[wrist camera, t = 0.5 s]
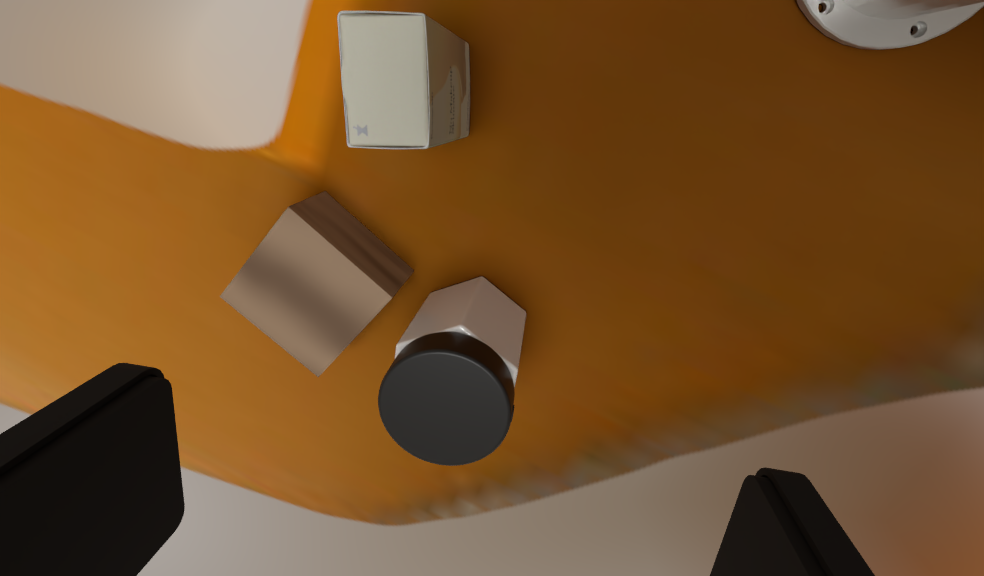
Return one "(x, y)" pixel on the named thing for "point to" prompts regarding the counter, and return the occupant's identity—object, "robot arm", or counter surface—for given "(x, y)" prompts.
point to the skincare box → (402, 80)
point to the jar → (455, 375)
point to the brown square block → (316, 281)
